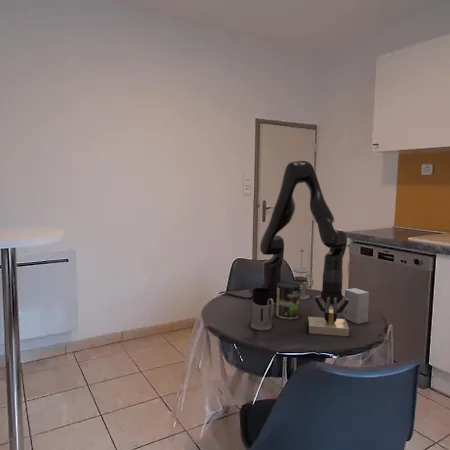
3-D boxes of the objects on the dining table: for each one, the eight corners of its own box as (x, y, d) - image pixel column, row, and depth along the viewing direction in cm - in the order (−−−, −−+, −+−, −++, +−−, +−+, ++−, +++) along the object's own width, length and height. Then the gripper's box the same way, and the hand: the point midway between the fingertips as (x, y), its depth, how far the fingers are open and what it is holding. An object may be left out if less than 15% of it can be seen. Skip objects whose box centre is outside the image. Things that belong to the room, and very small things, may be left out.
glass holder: (266, 321, 161) (267, 286, 159) (282, 333, 147) (283, 295, 146) (247, 323, 158) (247, 288, 156) (262, 336, 144) (263, 297, 143)
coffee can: (304, 317, 166) (305, 285, 165) (285, 320, 162) (286, 288, 160) (289, 310, 176) (290, 280, 174) (271, 313, 171) (272, 282, 169)
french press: (298, 292, 206) (299, 247, 204) (316, 297, 198) (318, 249, 195) (286, 295, 200) (288, 248, 197) (305, 300, 191) (307, 251, 189)
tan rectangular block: (333, 325, 148) (333, 312, 148) (328, 325, 148) (329, 312, 148) (332, 319, 155) (332, 307, 154) (327, 319, 155) (328, 306, 155)
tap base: (309, 333, 148) (309, 325, 148) (307, 323, 159) (308, 316, 159) (349, 336, 145) (349, 328, 145) (345, 326, 156) (345, 318, 156)
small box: (368, 322, 161) (369, 292, 160) (357, 324, 159) (358, 293, 157) (354, 316, 169) (355, 287, 167) (343, 318, 166) (344, 289, 165)
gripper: (314, 280, 148) (312, 323, 150) (351, 283, 145) (349, 326, 147) (314, 276, 155) (312, 317, 157) (349, 278, 153) (347, 320, 154)
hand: (330, 321), depth 152 cm, fingers closed on tan rectangular block, 2 cm apart
